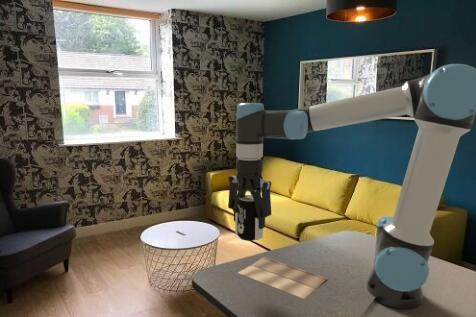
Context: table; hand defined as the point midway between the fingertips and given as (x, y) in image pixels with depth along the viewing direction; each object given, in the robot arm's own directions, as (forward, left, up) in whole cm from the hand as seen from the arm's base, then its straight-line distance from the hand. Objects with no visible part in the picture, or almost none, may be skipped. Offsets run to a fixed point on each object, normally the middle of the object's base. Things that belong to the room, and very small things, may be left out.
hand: (248, 235), depth 105 cm
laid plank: (-5, -7, -17) cm, 19 cm away
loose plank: (-5, -15, -17) cm, 23 cm away
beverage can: (0, 0, -1) cm, 1 cm away
